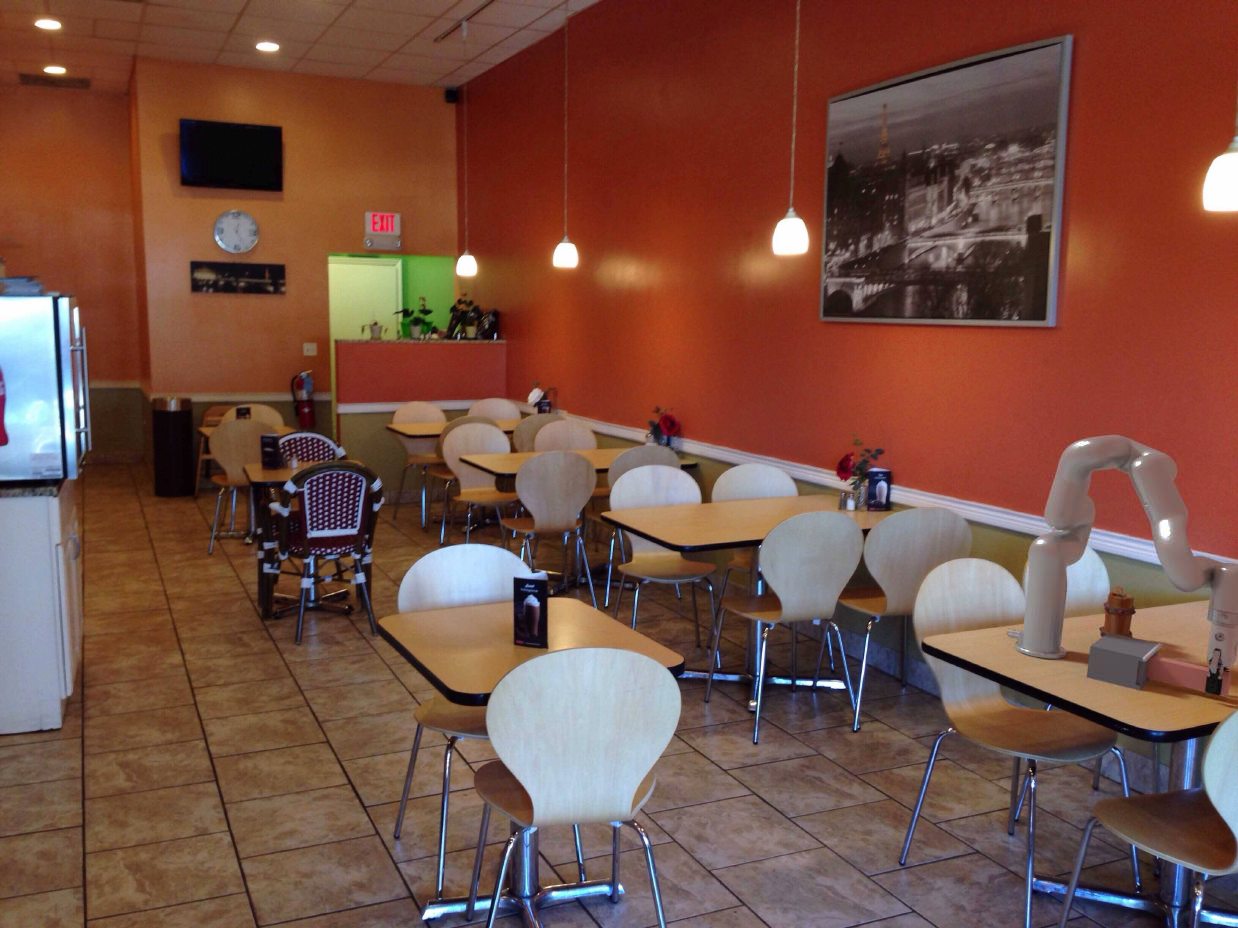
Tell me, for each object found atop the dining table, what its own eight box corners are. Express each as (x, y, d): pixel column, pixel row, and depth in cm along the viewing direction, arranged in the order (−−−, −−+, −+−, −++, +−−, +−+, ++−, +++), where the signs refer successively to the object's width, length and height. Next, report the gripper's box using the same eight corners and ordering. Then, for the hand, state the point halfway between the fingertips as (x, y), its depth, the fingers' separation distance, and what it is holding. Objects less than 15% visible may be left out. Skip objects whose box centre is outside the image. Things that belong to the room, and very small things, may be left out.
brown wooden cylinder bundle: (1133, 652, 276) (1140, 598, 274) (1099, 648, 279) (1106, 593, 277) (1127, 637, 290) (1133, 585, 288) (1095, 633, 293) (1101, 581, 290)
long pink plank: (1142, 676, 253) (1145, 656, 252) (1145, 673, 255) (1148, 653, 254) (1226, 696, 242) (1229, 675, 241) (1228, 693, 244) (1231, 672, 243)
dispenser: (1086, 676, 255) (1090, 644, 254) (1104, 662, 267) (1108, 631, 266) (1142, 690, 247) (1146, 657, 246) (1158, 674, 259) (1162, 643, 258)
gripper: (1237, 627, 233) (1226, 703, 235) (1251, 612, 246) (1240, 684, 249) (1200, 620, 237) (1190, 694, 240) (1215, 606, 251) (1205, 676, 253)
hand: (1215, 689), depth 244 cm, fingers open, 7 cm apart
